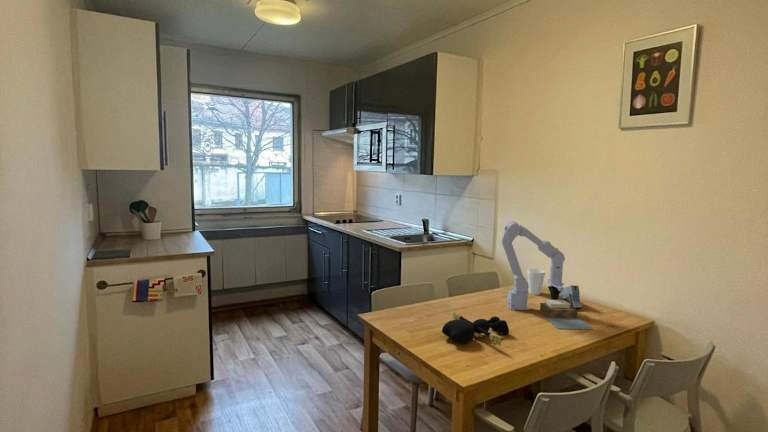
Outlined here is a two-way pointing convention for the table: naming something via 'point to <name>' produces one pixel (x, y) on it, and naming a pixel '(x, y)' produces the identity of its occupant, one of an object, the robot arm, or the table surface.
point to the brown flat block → (558, 311)
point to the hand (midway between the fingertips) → (554, 301)
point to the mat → (569, 323)
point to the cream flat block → (557, 303)
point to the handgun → (572, 296)
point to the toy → (474, 329)
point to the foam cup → (535, 280)
